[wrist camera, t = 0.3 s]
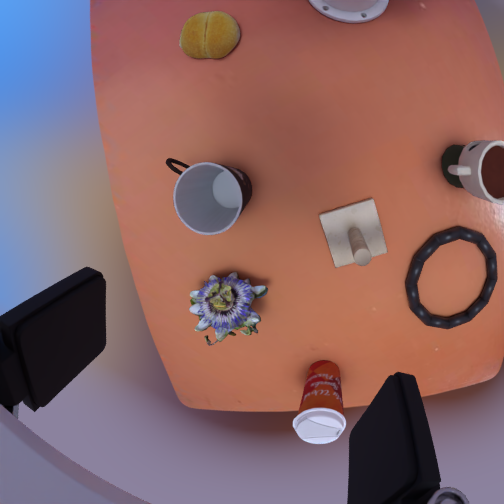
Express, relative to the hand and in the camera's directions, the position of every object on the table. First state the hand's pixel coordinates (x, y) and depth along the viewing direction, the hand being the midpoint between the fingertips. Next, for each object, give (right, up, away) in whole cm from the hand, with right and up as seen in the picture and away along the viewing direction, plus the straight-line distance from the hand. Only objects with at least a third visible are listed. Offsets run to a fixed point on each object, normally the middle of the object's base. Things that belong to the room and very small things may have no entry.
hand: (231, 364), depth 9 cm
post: (+15, +6, +34) cm, 38 cm away
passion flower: (-2, -4, +42) cm, 42 cm away
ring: (+32, -1, +31) cm, 45 cm away
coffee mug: (-3, +14, +36) cm, 39 cm away
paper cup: (+13, -18, +42) cm, 48 cm away
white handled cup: (+30, +16, +27) cm, 44 cm away
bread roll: (-5, +36, +29) cm, 46 cm away
